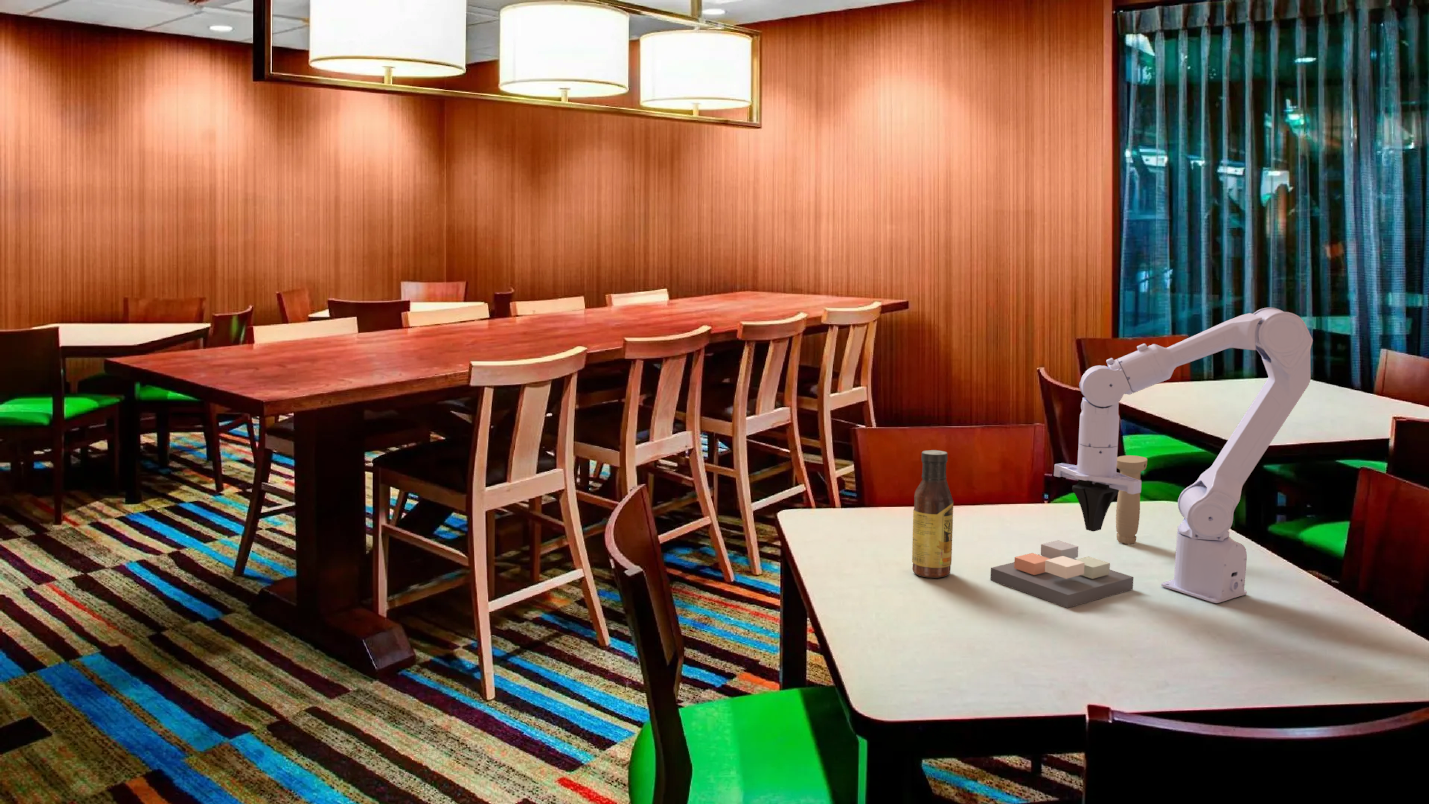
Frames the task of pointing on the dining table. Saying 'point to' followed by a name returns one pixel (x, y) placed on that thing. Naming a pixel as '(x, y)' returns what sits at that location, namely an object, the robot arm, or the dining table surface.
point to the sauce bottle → (932, 518)
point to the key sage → (1094, 567)
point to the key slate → (1059, 549)
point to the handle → (1129, 500)
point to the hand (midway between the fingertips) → (1093, 529)
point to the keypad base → (1062, 585)
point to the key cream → (1064, 567)
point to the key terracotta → (1030, 563)
